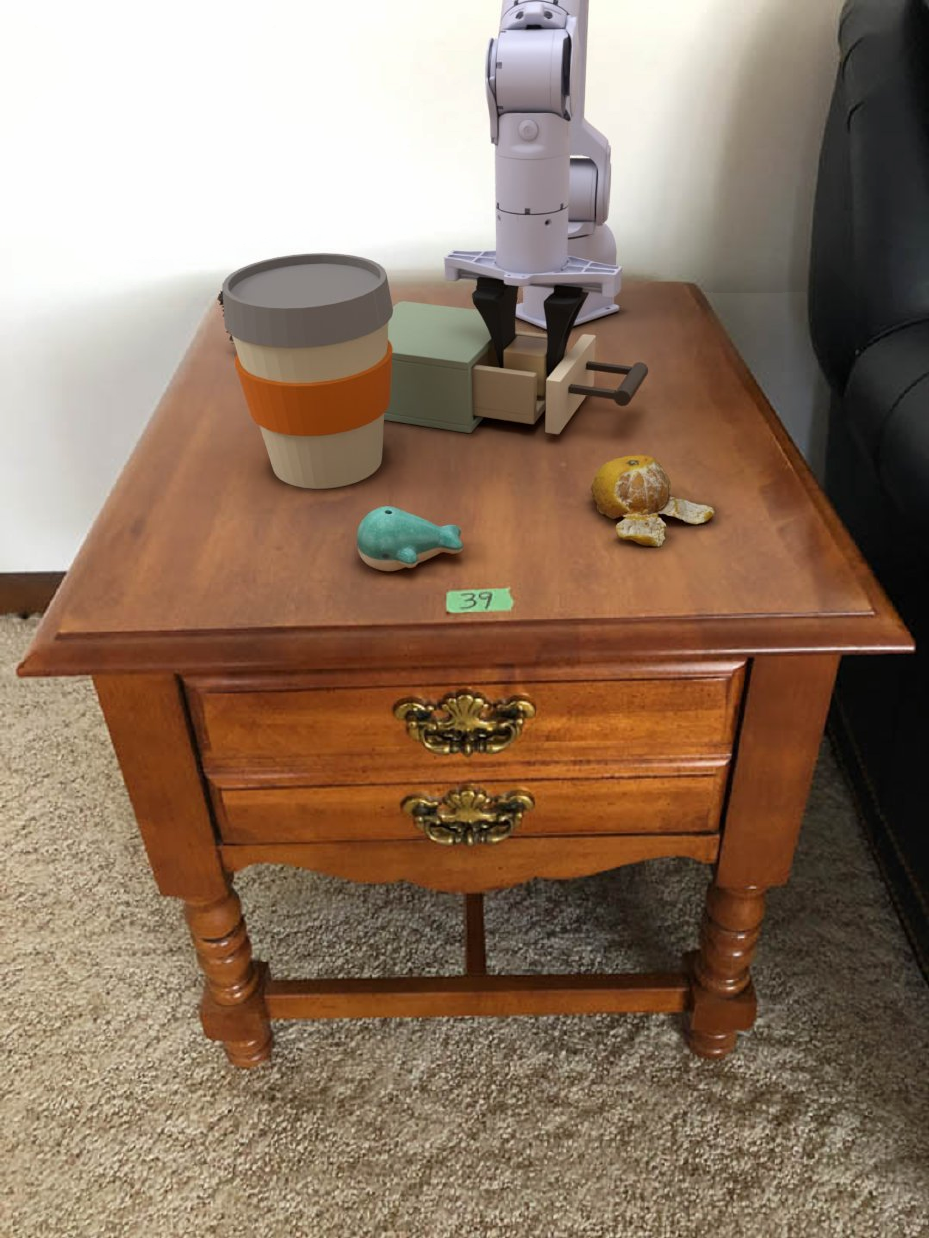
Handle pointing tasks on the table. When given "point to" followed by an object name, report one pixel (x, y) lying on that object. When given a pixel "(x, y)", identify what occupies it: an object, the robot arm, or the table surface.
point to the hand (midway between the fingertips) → (530, 369)
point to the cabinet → (435, 365)
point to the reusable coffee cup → (314, 362)
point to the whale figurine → (403, 539)
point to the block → (528, 358)
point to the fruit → (641, 499)
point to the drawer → (547, 386)
